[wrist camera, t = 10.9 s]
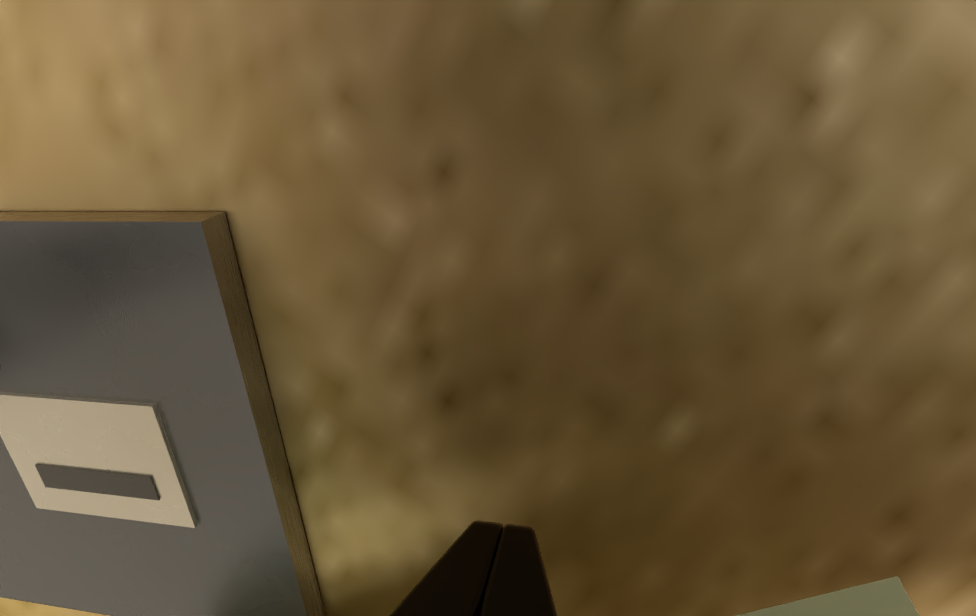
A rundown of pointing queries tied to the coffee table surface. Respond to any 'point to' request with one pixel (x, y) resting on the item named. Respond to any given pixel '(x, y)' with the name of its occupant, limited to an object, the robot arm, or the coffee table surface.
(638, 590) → the coffee table surface
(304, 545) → the label panel
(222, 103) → the coffee table surface
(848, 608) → the swing arm
